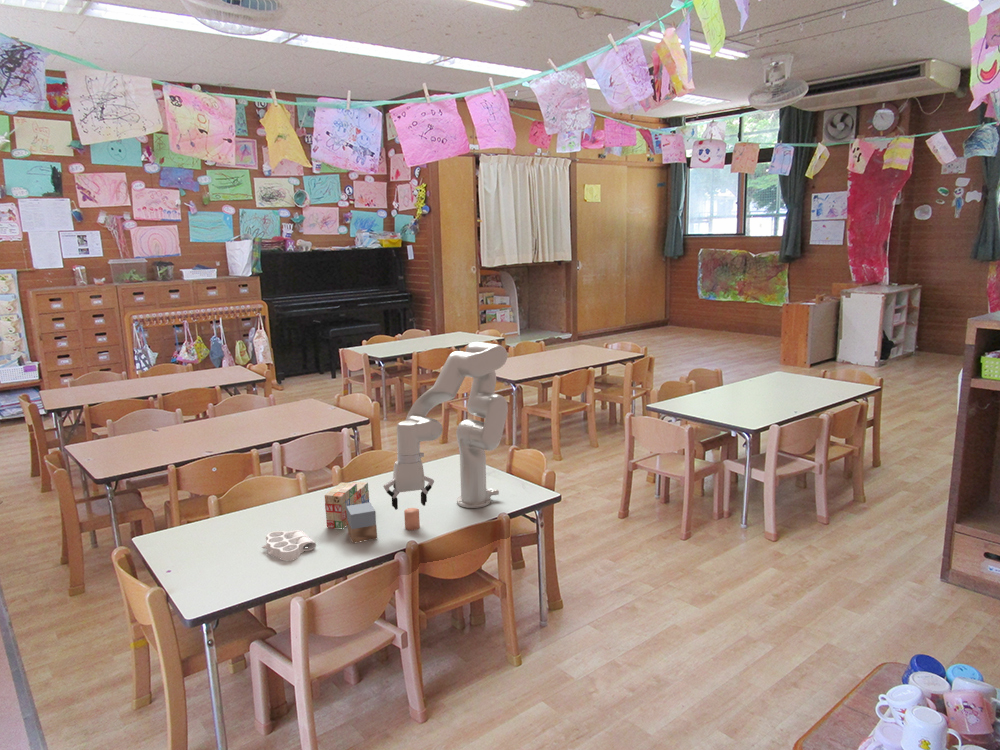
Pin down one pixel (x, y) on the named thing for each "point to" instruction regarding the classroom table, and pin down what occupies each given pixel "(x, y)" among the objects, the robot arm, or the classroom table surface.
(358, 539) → the tower base
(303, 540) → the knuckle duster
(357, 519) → the tower top
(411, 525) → the terracotta cylinder
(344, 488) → the stack of blocks
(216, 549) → the classroom table surface
